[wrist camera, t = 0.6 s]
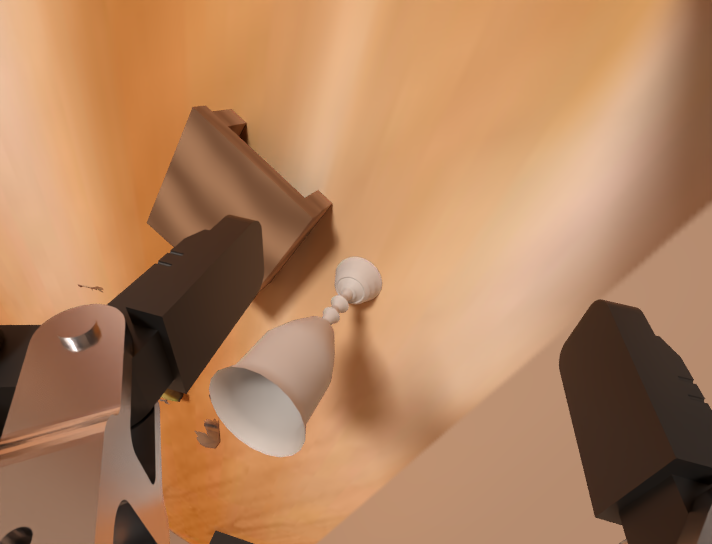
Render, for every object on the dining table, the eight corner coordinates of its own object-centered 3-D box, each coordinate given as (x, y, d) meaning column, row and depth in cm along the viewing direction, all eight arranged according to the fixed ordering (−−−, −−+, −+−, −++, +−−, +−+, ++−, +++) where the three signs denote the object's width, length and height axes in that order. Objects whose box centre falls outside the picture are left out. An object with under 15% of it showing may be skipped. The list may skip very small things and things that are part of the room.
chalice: (391, 314, 38) (312, 469, 23) (331, 305, 40) (224, 440, 25) (389, 249, 35) (296, 380, 20) (324, 243, 37) (196, 356, 22)
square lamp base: (232, 103, 34) (192, 107, 30) (336, 201, 34) (312, 218, 30) (183, 208, 42) (146, 222, 37) (269, 286, 42) (242, 309, 38)
